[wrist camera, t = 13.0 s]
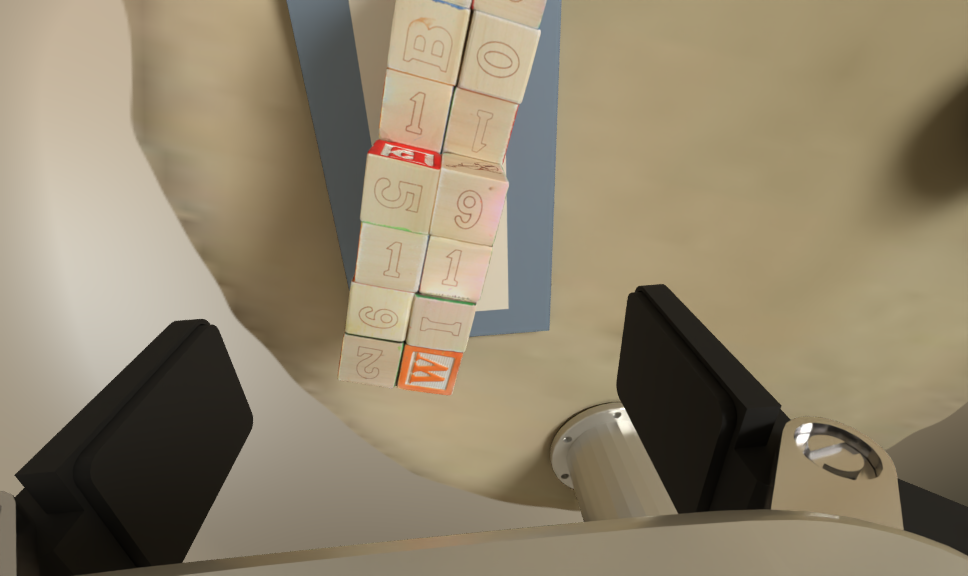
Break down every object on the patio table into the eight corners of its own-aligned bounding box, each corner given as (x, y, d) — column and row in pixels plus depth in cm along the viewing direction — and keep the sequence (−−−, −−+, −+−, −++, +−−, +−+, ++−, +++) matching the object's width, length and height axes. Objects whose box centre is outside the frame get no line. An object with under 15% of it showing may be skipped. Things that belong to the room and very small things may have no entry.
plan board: (546, 324, 38) (549, 330, 37) (363, 338, 37) (361, 345, 36) (562, -135, 24) (566, -142, 23) (264, -127, 23) (257, -135, 22)
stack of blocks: (422, -58, 24) (403, -150, 13) (528, -22, 25) (591, -79, 14) (370, 278, 33) (334, 384, 23) (449, 293, 35) (451, 400, 24)
